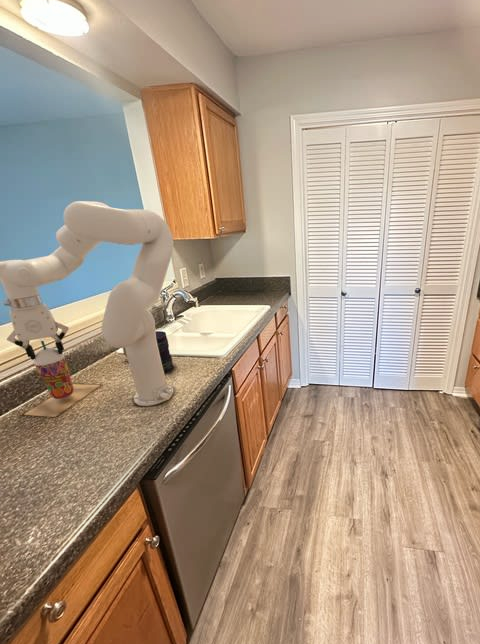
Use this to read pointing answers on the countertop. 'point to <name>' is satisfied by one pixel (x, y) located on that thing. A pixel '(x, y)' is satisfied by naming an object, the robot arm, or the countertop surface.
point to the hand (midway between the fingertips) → (47, 355)
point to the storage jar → (164, 351)
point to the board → (61, 402)
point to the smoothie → (54, 372)
